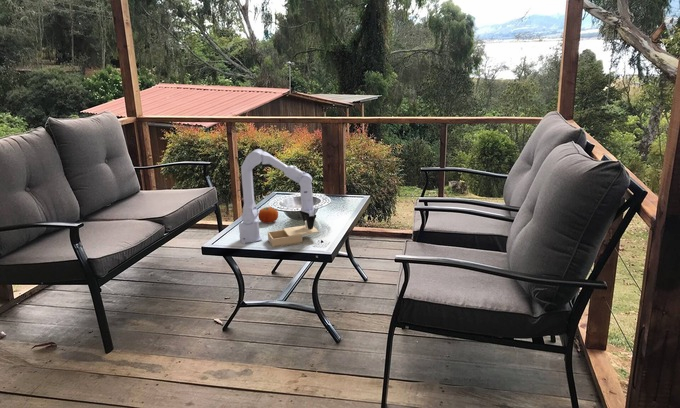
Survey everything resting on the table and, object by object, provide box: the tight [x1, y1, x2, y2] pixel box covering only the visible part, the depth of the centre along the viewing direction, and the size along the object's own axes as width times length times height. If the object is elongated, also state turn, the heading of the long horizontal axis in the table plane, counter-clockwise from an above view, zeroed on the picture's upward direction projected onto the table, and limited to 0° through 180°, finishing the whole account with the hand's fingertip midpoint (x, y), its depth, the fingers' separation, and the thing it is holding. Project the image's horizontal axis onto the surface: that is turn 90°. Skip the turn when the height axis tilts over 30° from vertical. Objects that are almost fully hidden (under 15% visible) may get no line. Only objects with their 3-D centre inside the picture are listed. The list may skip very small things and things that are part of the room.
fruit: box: [257, 206, 279, 224], centre depth 274 cm, size 11×10×8 cm
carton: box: [267, 229, 303, 248], centre depth 242 cm, size 14×12×4 cm
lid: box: [282, 221, 320, 237], centre depth 243 cm, size 14×12×5 cm
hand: (308, 226), depth 244 cm, fingers open, 7 cm apart
